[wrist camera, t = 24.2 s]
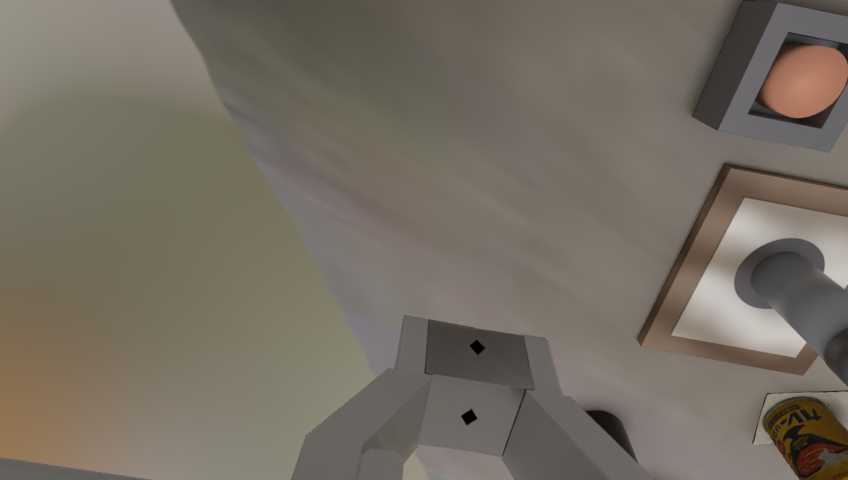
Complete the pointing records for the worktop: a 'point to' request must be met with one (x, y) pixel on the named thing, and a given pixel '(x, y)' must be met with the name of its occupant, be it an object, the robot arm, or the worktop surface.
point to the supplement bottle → (613, 430)
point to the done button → (803, 80)
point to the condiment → (808, 432)
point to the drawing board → (748, 269)
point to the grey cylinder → (807, 305)
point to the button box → (749, 65)
